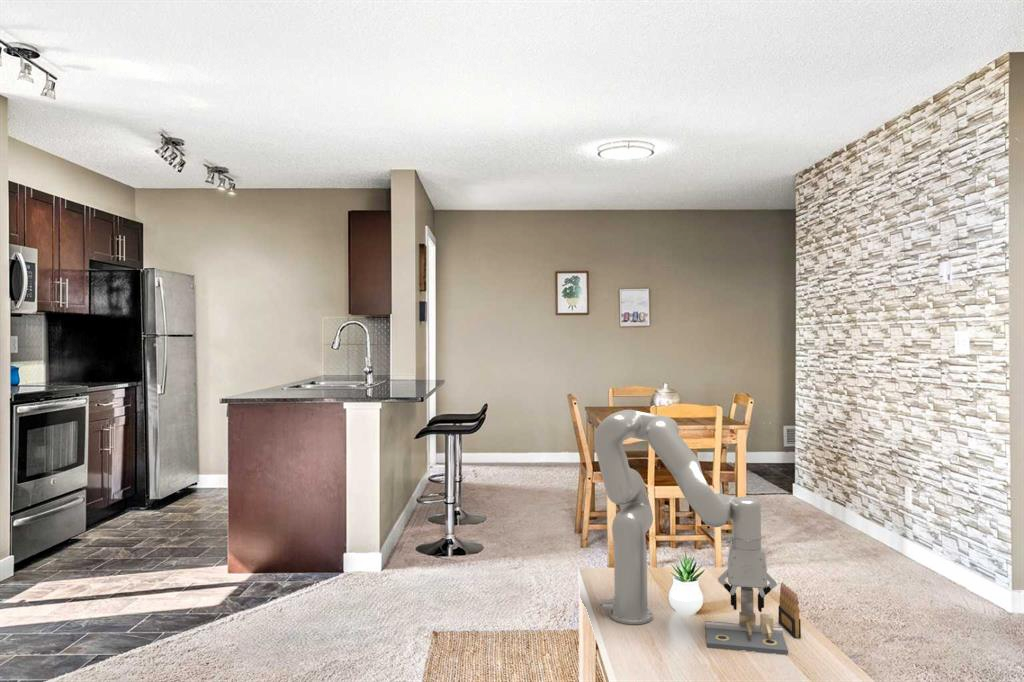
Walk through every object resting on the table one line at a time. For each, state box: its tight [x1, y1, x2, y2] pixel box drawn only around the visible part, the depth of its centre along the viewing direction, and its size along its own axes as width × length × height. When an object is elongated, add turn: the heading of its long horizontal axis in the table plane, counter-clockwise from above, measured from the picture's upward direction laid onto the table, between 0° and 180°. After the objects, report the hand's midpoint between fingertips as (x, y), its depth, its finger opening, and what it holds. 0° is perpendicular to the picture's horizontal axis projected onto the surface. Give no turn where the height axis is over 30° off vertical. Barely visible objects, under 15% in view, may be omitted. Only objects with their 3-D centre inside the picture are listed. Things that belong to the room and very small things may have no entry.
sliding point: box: [738, 587, 757, 638], centre depth 186 cm, size 4×9×10 cm, turn 166°
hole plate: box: [705, 612, 789, 655], centre depth 186 cm, size 20×15×6 cm
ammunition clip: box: [777, 581, 802, 639], centre depth 192 cm, size 11×2×12 cm, turn 1°
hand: (747, 608), depth 189 cm, fingers open, 5 cm apart
